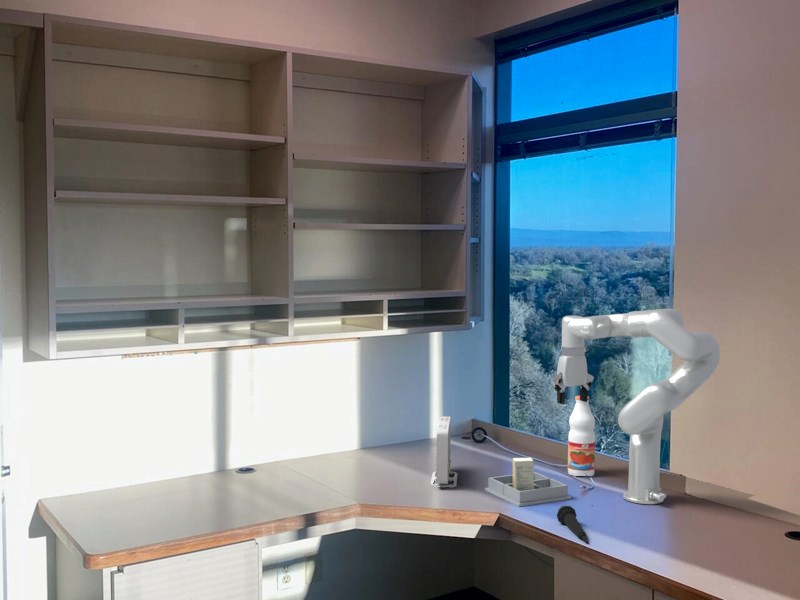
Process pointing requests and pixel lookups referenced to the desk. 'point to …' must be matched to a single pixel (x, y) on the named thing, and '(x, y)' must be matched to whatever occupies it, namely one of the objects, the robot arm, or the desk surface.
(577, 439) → the fruit juice
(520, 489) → the skincare box
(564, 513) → the microphone
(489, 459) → the desk surface
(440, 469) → the network device
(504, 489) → the gray compartment tray
